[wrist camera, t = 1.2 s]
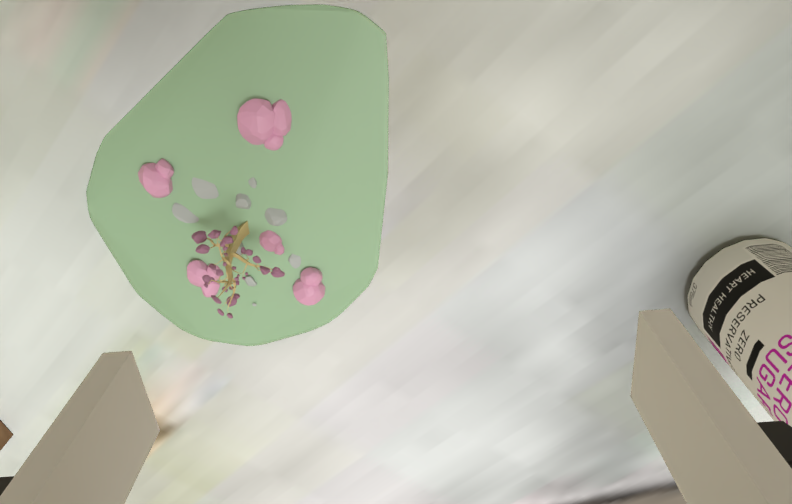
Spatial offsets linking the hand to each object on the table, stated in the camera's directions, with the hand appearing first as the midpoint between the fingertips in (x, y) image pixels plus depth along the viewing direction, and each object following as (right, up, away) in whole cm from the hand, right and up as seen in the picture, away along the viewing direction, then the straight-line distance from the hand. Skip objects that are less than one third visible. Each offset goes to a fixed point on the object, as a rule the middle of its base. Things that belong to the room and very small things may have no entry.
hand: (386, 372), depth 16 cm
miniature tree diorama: (-9, +8, +25) cm, 28 cm away
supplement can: (+25, +1, +28) cm, 38 cm away
